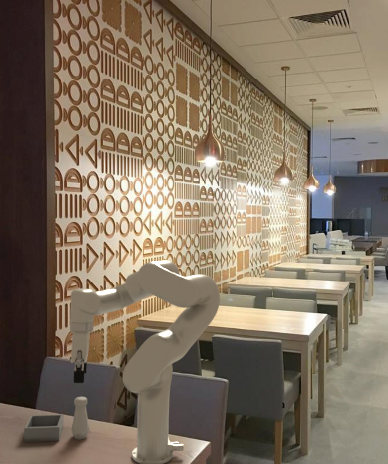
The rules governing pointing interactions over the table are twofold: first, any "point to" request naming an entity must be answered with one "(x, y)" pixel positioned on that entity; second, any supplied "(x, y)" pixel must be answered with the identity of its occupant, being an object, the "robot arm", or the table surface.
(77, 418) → the salt shaker
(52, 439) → the tray
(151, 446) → the robot arm
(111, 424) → the table surface
